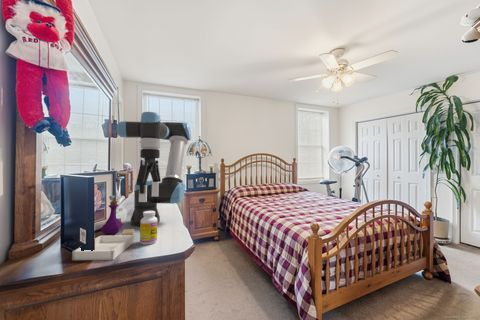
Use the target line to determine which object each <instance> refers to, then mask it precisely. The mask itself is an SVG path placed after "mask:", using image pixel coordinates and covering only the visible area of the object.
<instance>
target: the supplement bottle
mask: <svg viewBox="0 0 480 320" xmlns="http://www.w3.org/2000/svg"><path fill="white" fill-rule="evenodd" d="M143 216H144V218H142V219H141V222H140V226H139V227H140V229H139V230H140V231H139V232H140V234H139V243H140V244H141V245H144V246H145V245H146V246H147V245H153V244H155V243H156V242H157V241H158V223H157V218H156V217H155V211H145V212H143Z"/></svg>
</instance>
